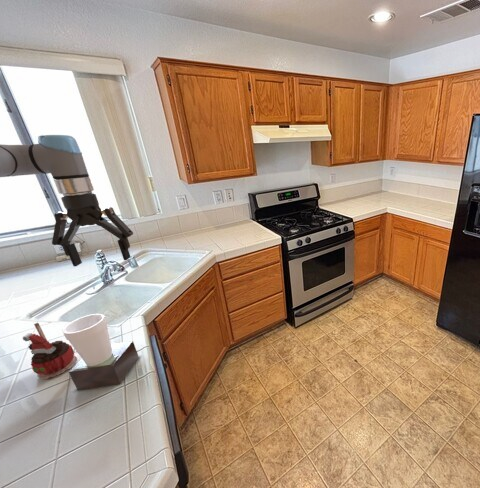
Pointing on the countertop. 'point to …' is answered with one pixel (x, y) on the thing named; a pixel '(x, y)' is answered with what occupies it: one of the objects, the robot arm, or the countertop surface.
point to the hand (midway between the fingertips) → (103, 261)
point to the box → (106, 368)
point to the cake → (49, 355)
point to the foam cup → (90, 338)
